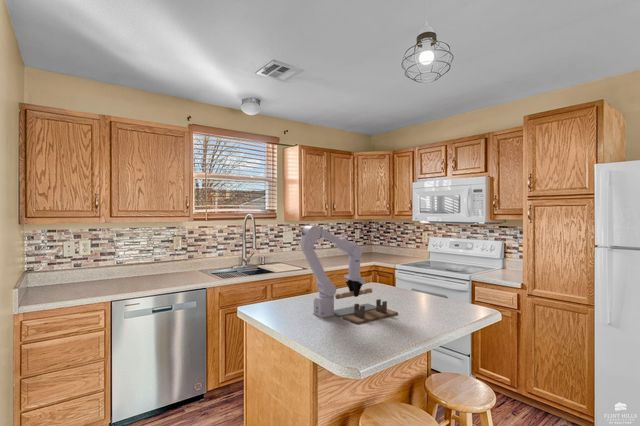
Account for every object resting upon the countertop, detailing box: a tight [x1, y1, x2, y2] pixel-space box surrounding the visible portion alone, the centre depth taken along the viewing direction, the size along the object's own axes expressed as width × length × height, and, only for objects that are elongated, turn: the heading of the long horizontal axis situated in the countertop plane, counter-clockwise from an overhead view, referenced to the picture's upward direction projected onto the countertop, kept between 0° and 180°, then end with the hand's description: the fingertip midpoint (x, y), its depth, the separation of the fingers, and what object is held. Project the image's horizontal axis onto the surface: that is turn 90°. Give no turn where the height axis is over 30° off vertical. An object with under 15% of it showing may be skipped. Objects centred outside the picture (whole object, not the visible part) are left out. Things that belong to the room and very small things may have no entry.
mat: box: [334, 303, 376, 318], centre depth 170 cm, size 26×9×1 cm, turn 124°
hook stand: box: [342, 298, 399, 325], centre depth 161 cm, size 26×10×6 cm, turn 124°
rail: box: [334, 287, 373, 300], centre depth 170 cm, size 22×2×2 cm, turn 124°
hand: (354, 295), depth 170 cm, fingers closed on rail, 2 cm apart
